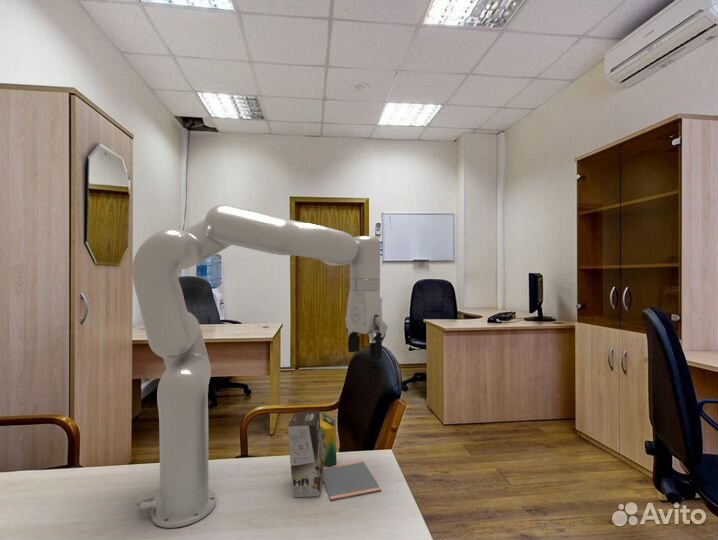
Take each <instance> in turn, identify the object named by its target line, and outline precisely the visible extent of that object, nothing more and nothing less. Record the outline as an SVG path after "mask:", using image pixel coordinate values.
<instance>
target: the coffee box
mask: <svg viewBox="0 0 718 540" xmlns="http://www.w3.org/2000/svg"><path fill="white" fill-rule="evenodd" d="M320 415H321V414H320V410H309V411H302V412H301V411H300V412H294V413H293V416H292V417H291V420H290V422H289V424H288V426H287V431H288V445H289V446H288V447H289V459H290V463H289V464H290V473H291V474H290V476H291V487H292V498H303V497H304V498H307V497H319V496H320V495H321V490H322V487H323V478H324V467H325V465H324V464H323V453H322V440H321V428H320V420H321V417H320Z"/></svg>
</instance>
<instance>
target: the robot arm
mask: <svg viewBox="0 0 718 540" xmlns="http://www.w3.org/2000/svg"><path fill="white" fill-rule="evenodd" d="M230 246H236V247H239V248H244V249H250V250H252V251H253V250H254V251H259V252H264V253H268V254H272V255H278V256H298V257H304V258H310V259H313V260H314V259H315V260H319V261H320V262H323V264H326V265H328V266H333V267H334V266H344V265H345V266H346V265H349V292H348V296H347V300H346V301H347V302H346V313H345V314H346V315H345V318H344V321H345V329H346V331H347V332H346V334H347V335H346V336H347V342H348V343H347V351H348V353H357V352H360V350H361V349H360V348H361V345H360V343H361V341H360V339H361V337H360V335H362V334H363V335H367V334H368V337H369V341H370V342H369V353H368V354H369V356H368V357H369V358H368V359H369V360H370V361H376V360H380V359H382V357H383V356H382V355H383V351H382V350H383V348H382V347H383V343H384V339H385V337H386V332H387V330H388V325H387V324H386V322H384V321H383V307H382V298H381V240H380V239H379V238H378V237H376V236H372V235H371V236H370V235H360V236H359V235H358V236H353V235H351V234H349V233H348V232H346V231H342V230H339V229H335V228H331V227H327V226H324V225H319V224H314V223H308V222H303V221H298V220H293V219H289V218H288V219H287V218H282V217H278V216H274V215H269V214H265V213H262V212H261V213H260V212H258V211H257V212H256V211H253V210H250V209H247V208H246V209H245V208H242V207H238V206H234V205H230V204H217V205H215V206H213V207H211V208H210V209H209V210H208V211H207V213H206V215H205V218H204V219H203V220H201V221H199V222H197V223H196V224H193V225H192V226H189V227H188V228H186V229H183V230H182V229H179V228H173V227H172V228H165V229H161V230H159V231H157V232H155V233H153V234H152V235H151V236H149V237H147V239H146V240H144V241H143V243H142V244H141V245H140V246H139V247H138V249H137V251H136V253H135V255H134V257H133V261H132V267H131V268H132V269H131V274H132V282H133V287H134V291H135V294H136V298H137V302H138V306H139V311H140V314H141V318H142V322H143V326H144V329H145V330H144V331H145V334H146V338H147V342H148V345H149V348H150V349H151V351H152V352H153V353H154V354H155V355H157V357H158V356H159V357H160V358H162V359H163V363H164V366H165V371H164V372H163V374H162V375H161V377H160V380H159V381H158V386H157V392H156V399H157V410H158V421H159V423H158V424H159V425H158V427H159V433H158V434H159V489H157V490H154V491H153V492H151V493H141V494H137V497H136V506H140V510H141V511H143V510H148V509H151V520H152V522H153V523H154V525H156V526H158V527H161V528H170V529H173V528H180V527H185V526H188V525H192V524H194V523H197V522H198V521H200V520H202V519H203V518H205V517H206V516H208V515H209V514H210V513H212V511H213V510H214V508H215V506H216V504H217V494H216V493H215V491H214V490H212V489H210V487H209V470H210V469H209V397H208V395H209V384H210V380H211V376H212V367H211V362H210V357H209V354H208V350H207V347H206V343H205V339H204V336H203V333H202V332H203V331H202V328H201V325H200V323H199V321H198V319H197V317H196V316H195V314H193V313H191V312H190V311H188V308H187V306H186V301H185V298H184V297H185V296H184V292H183V289H182V286H181V283H180V280H179V273H180V270H187V269H190V268H191V267H194V266H196V265H198V264H200V263H202V262H203V261H206V260H208V259H209V258H211V257H213V256H215V255H216V254H218V253H220V252H222V251H224V250H225V249H227V248H228V247H230ZM359 334H360V335H359Z"/></svg>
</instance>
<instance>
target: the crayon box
mask: <svg viewBox="0 0 718 540" xmlns="http://www.w3.org/2000/svg"><path fill="white" fill-rule="evenodd" d="M327 418H328V419H329V420H328V419H327ZM330 420H331V421H330ZM320 428H321V440H322V453H323V465H324V467H325V466H327V467H330V466H334V465H338V463H337V462H338V461H337V460H338V459H337V438H336V437H337V436H336V434H337V433H336V431H337V430H336V429H337V427H336V419H335V418H333V417H331V416H330V415H328V414H326V413H324V412H322V419H320Z"/></svg>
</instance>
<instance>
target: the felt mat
mask: <svg viewBox="0 0 718 540" xmlns="http://www.w3.org/2000/svg"><path fill="white" fill-rule="evenodd" d="M322 484H323V486H324V488H325V490H326V493H327V495H328V497H329V501H330V502H333V501H338V500H344V499H350V498H355V497H360V496H364V495H369V494H375V493H380V492H382V488H381V487H380V485H379V484H378V482H377V480H376V479H375V477H374V476H373V474H372V473H371V472H370V469H369V468H368V467H367V465H366V464H365V462H364V461H363V460H357V461H352V462H351V461H350V462H345V463H337V464H336V465H334V466H330V467H327V466H325V465H324V478H323V482H322Z"/></svg>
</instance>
